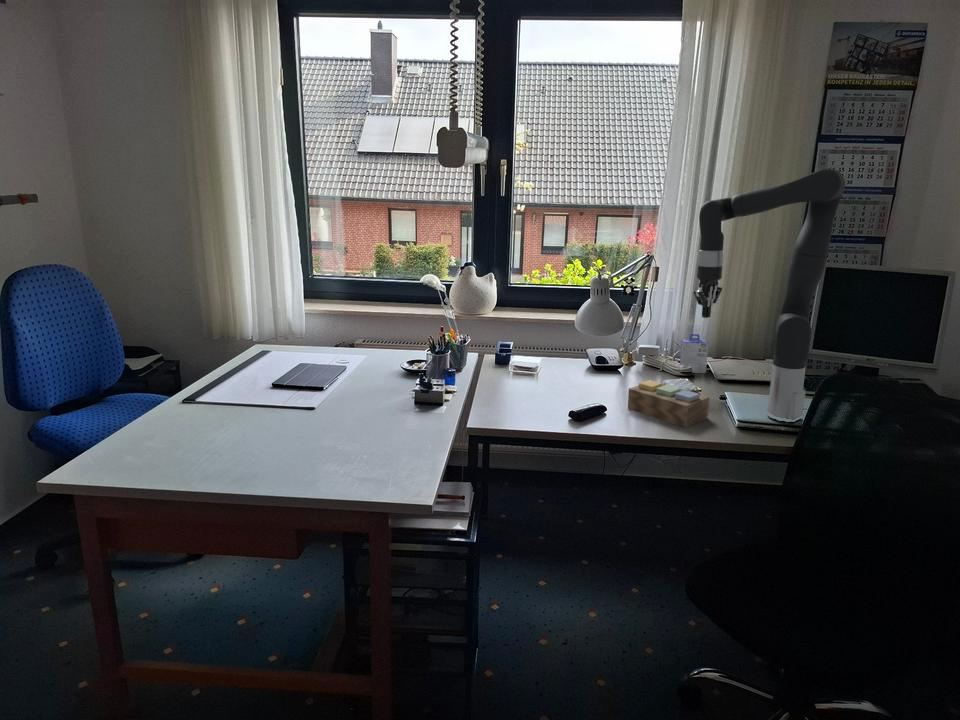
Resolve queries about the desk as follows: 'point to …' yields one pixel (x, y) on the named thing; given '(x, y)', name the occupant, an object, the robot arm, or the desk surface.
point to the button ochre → (650, 385)
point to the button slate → (687, 396)
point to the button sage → (668, 390)
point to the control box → (668, 406)
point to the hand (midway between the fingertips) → (706, 317)
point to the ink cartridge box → (694, 353)
